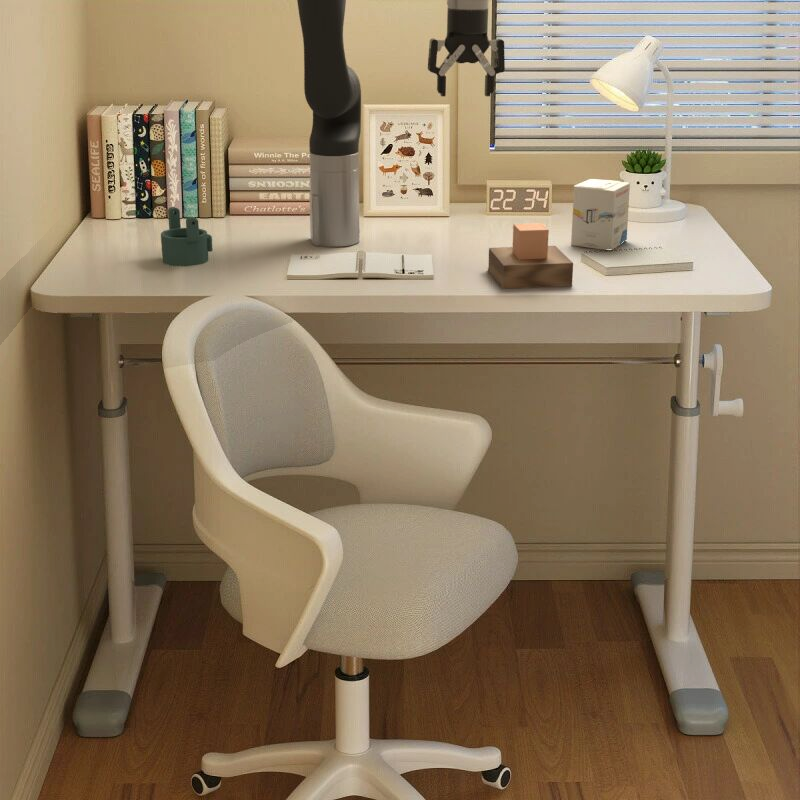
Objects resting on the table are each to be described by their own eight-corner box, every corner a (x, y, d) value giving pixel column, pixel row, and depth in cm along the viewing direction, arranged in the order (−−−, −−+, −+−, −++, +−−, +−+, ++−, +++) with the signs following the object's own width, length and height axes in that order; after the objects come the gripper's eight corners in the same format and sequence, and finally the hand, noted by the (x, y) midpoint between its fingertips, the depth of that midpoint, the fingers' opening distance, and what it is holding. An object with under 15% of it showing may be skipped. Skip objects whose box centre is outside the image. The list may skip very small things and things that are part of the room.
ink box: (586, 236, 246) (590, 177, 242) (627, 241, 242) (631, 181, 238) (569, 245, 239) (572, 184, 235) (611, 251, 235) (615, 189, 231)
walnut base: (503, 288, 211) (503, 265, 210) (488, 269, 222) (489, 247, 221) (572, 285, 213) (573, 263, 212) (554, 267, 224) (555, 245, 223)
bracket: (196, 268, 223) (194, 219, 220) (151, 263, 226) (148, 214, 223) (220, 257, 231) (218, 209, 228) (176, 252, 234) (174, 204, 231)
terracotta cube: (518, 259, 214) (519, 230, 212) (512, 252, 218) (513, 223, 216) (547, 258, 214) (548, 229, 212) (540, 251, 219) (541, 223, 217)
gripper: (432, 7, 226) (430, 99, 232) (510, 7, 228) (506, 98, 234) (426, 4, 233) (425, 93, 239) (501, 5, 235) (498, 93, 241)
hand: (465, 96), depth 236 cm, fingers open, 8 cm apart
